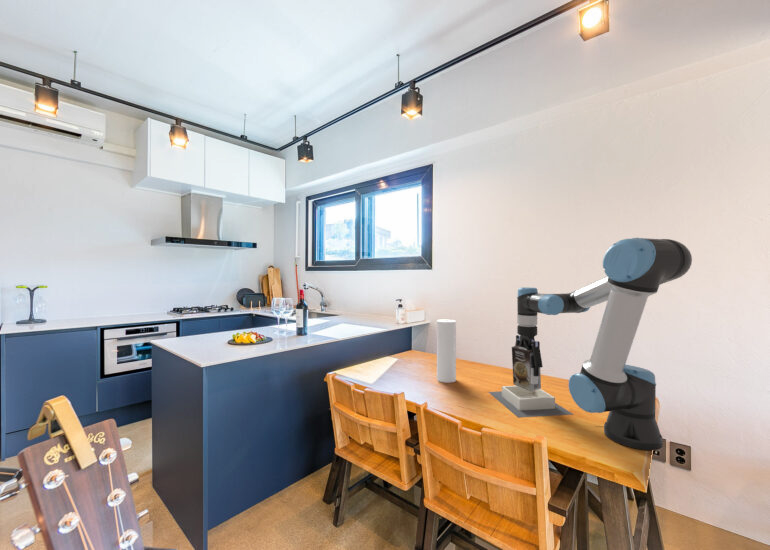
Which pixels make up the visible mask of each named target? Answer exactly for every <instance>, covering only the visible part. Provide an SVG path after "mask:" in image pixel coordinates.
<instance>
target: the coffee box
mask: <svg viewBox="0 0 770 550" xmlns="http://www.w3.org/2000/svg"><path fill="white" fill-rule="evenodd" d="M532 356H533V350H527V349H526V348H525V347H523V346H515V345H514V346H511V357H512V358H511V361H512V363H511V364H512V381H513V384H512V385H513V386H518V387H521V388H523V389H526V390H528V391H534V390H537V389H542V383H541V382H542V377H541V374H542V373H541V367H540V368H539V376H538V384H531V366H532V363H531V357H532Z"/></svg>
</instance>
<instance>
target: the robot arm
mask: <svg viewBox="0 0 770 550" xmlns="http://www.w3.org/2000/svg"><path fill="white" fill-rule="evenodd" d="M692 261H693V257H692V254H691V251H690V250H689V248H688V247H687V246H686V245H685V244H683V243H681V242H679V241H677V240H674V239H669V238H646V237H645V238H644V237H632V238H624V239H621V240H618V241H616V242H615V243H613V244H612V245H610V246H609V247H608V249H606V252H605V253H604V256H603V258H602V268H603V269H604V274H605V275H606V276H604V277H602V278H600V279H598V280H596V281H594V282H591V283H590V284H587V285H585V286H582V287H580V288H578V289H577V290H574V291H571V292H569V293H568V292H567V293H539V292H538V289H537V288H536V287H518V289H517V296H516V298H517V300H516V301H517V302H516V303H517V323H516V324H517V328H516V330H517V331H516V333H517V334H516V335H515V343H514V344H515V345H514V346H523V347H525V348H526V349H527V350H533V356H532V357H531V363H532V366H531V384H538V376H539V368H540V369H541V368H543V359H542V354H541V349H540V346H541V345H540V344H541V343H540V341H537V340H535V337H536V336H537V335H538V326H537V325H538V314H542V315H543V314H544V315H548V316H557V315H559V314H580V313H586V312H588V311H589V310H590V309H591V307H593V306H594V307H595V306H597V305H600V304H603V303H605V302H606V305H605V309H604V312H603V315H602V319H601V321H600V322H601V323H600V326H599V329H598V331H597V336H596V338H595V343H594V346H593V349H592V352H591V355H590V358H589V359H585V360H584V361H583V362H582V366H581V370H580V371H579V372H577V373H574V374H572V375H571V376H570V377H569V379H568V391H569V394H570V396H571V399H572V400H573V402H574V403H575V405H577V406H578V408H579V409H581V410H583V411H585V412H587V413H592V414H593V413H595V414H602V413H605V412H609V413H608V415H607V418H606V421H605V422H604V424H603V434H604V435H605V436H606V437H607V438H608V439H610V440H611V441H613V442H614V443H617V444H620V445H623V446H625V447H629V448H632V449H636V450H643V451H657V450H661V449H662V448H663V443H664V441H663V436H662V434H661V431H660V429H659V428H660V427H659V425H658V422H657V420H656V390H657V389H656V386H657V382H656V375H655V374H654V373H653V371H651V370H648V369H646V368H644V367H640V366H639V367H638V366H635V365H630V364H626V363H627V360H628V357H629V355H630V352H631V349H632V347H633V344H634V340H635V337H636V334H637V331H638V328H639V326H640V321H641V320H642V319H641V318H642V316H643V313H644V310H645V307H646V305H647V304H646V303H647V302H648V298H649V297H650V296H653V295H655V294H657V293H658V291H659V287H660V285H663V284H665V283H669V282H672V281H674V280H677V279H679V278H681V277H683V276H684V275H686V274H687V273H688V272H689V270H690V269H691V266H692Z"/></svg>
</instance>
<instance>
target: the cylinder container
mask: <svg viewBox="0 0 770 550" xmlns="http://www.w3.org/2000/svg"><path fill="white" fill-rule="evenodd" d="M456 369H457V321H456V320H455V319H446V318H445V319H437V320H436V380H437V382H440V383H446V384H448V383H454V382H456V381H457V370H456Z"/></svg>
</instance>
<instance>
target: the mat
mask: <svg viewBox="0 0 770 550" xmlns="http://www.w3.org/2000/svg"><path fill="white" fill-rule="evenodd" d="M488 393H489V394H490V395H491V396H492V397H493V398H494V399H495V400H497V401H498V402H499V403H500V404H501V405H503V406H504V407H505V408H506V409H507V410H508V411H510V412H511V413H512V414H513V415H515V416H516V417H517V419H519V418H532V417H552V416H553V417H554V416H570V415H574V413H573V412H571V411H569V410H567V409H566V408H565V407H563V406H561V405H560V404H558V403H556V402H555V409H538V410H518V409H517V408H516V407H515V406H513V405H512V404H511V403H510V402H508V401H507V400H506V399H505V398H503V397H502V390H501V391H488Z"/></svg>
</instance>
